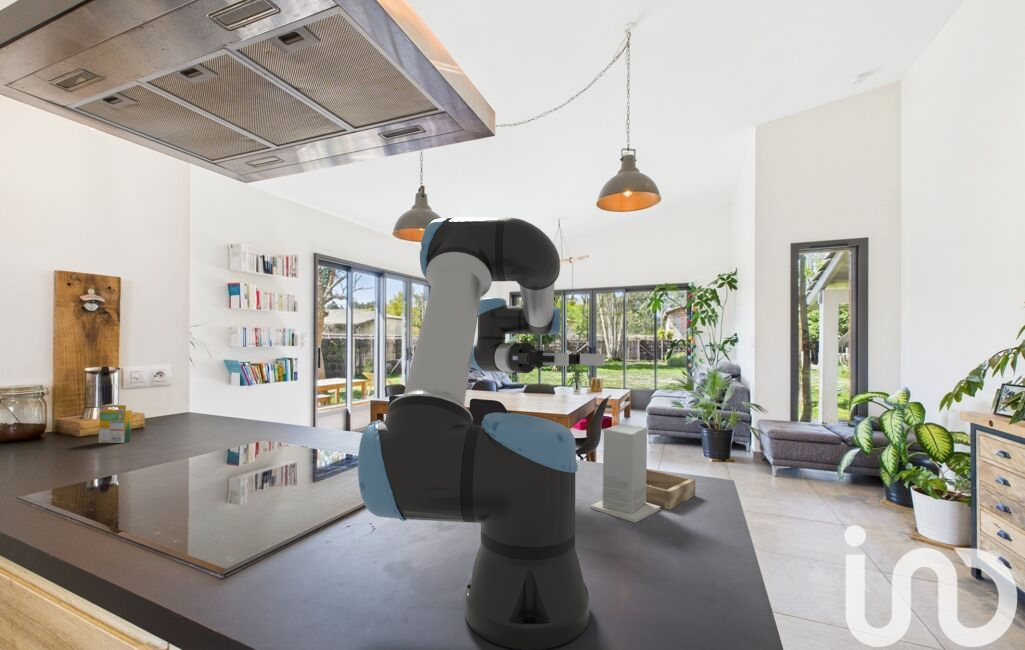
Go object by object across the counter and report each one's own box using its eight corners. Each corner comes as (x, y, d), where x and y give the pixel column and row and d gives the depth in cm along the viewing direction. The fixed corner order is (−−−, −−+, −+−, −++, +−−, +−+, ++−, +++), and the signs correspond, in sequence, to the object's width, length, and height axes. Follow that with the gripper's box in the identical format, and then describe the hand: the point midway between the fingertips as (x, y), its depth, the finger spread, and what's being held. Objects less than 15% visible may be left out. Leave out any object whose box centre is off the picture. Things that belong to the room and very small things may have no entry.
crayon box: (130, 441, 143) (132, 404, 144) (123, 443, 141) (125, 405, 141) (105, 441, 143) (107, 404, 143) (97, 443, 140) (100, 405, 140)
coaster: (635, 522, 84) (635, 519, 84) (590, 508, 91) (590, 505, 91) (660, 509, 91) (660, 506, 91) (617, 497, 98) (617, 494, 98)
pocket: (669, 509, 91) (669, 491, 91) (615, 494, 100) (615, 478, 100) (695, 495, 100) (695, 479, 100) (643, 482, 109) (643, 468, 109)
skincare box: (618, 496, 96) (619, 422, 97) (649, 503, 93) (649, 426, 93) (601, 507, 90) (601, 428, 91) (633, 515, 86) (633, 432, 87)
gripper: (548, 372, 123) (617, 375, 108) (479, 373, 105) (549, 378, 90) (549, 344, 124) (617, 344, 109) (480, 341, 106) (550, 340, 91)
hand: (586, 359), depth 100 cm, fingers open, 13 cm apart
